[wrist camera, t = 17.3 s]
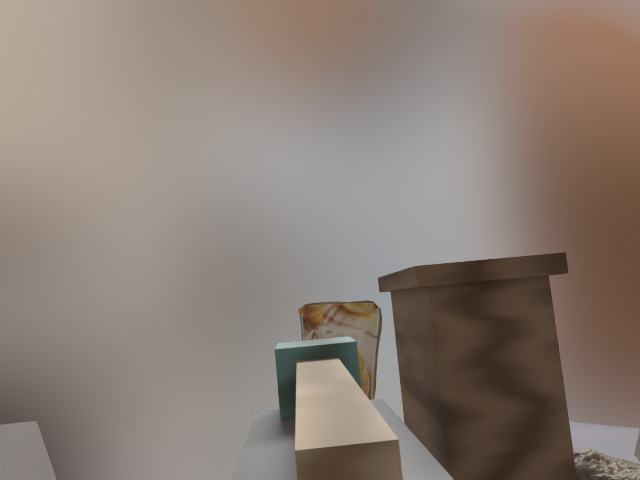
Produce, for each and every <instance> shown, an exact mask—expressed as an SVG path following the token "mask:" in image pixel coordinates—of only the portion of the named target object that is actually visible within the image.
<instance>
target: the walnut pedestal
mask: <svg viewBox="0 0 640 480" xmlns="http://www.w3.org/2000/svg"><path fill="white" fill-rule="evenodd" d="M565 273H568V266H567V260H566V253H554V254H544V255H534V256H521V257H510V258H500V259H488V260H477V261H466V262H456V263H444V264H433V265H423V266H414V267H411V268H408V269H404V270H402V271H398V272H395V273H392V274H389V275H386V276H383V277H379V278H378V283H379V292H388V291H391V299H392V309H393V318H394V327H395V336H396V346H397V355H398V365H399V373H400V384H401V392H402V402H403V412H404V420H405V425H406V426H407V427H408V428H409V430H410V431H411V432H412V433H413V434H414V435H415V436H416V437H417V439H418V440H419V441H420V442H421V443H422V444H423V445H424V446H425V448H426V449H427V450H428V451H429V452H430V453H431V454H432V456H433V457H434V458H435V459H436V460H437V461H438V462H439V463H440V465H441V466H442V467H443V468H444V469H445V470H446V471H447V472H448V474H449V475H450V476H451V477H452V478H453V479H454V480H577V475H576V468H575V461H574V454H573V447H572V439H571V432H570V425H569V418H568V411H567V404H566V397H565V389H564V383H563V375H562V368H561V361H560V355H559V346H558V340H557V333H556V325H555V319H554V311H553V304H552V297H551V289H550V282H549V275H557V274H565Z"/></svg>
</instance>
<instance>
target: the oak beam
mask: <svg viewBox="0 0 640 480" xmlns="http://www.w3.org/2000/svg"><path fill="white" fill-rule="evenodd" d="M275 356H276V369H277V381H278V394H279V406H280V418H281V420H285V419H295V418H296V423H295V457H296V469H297V480H403V475H402V466H401V456H400V447H399V439H398V438H397V436H396V435H395V434H394V432H393V431H392V430H391V428H390V427H389V426H388V424H387V423H386V422H385V420H384V419H383V418H382V416H381V415H380V413H379V412H378V411H377V409H376V408H375V407H374V405H373V404H372V403H371V401H370V400H369V399H368V397H367V396H366V395H365V393H364V392H363V391H362V389H361V379H360V369H359V358H358V348H357V341H356V340H354V339H352V338H351V337H349V336H348V337H337V338H327V339H317V340H306V341H296V342H286V343H278V344H277V346H276V348H275Z"/></svg>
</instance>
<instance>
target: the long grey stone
mask: <svg viewBox="0 0 640 480" xmlns="http://www.w3.org/2000/svg"><path fill="white" fill-rule="evenodd" d="M573 454H574V461H575V468H576V475H577V480H640V464H637V463H632V462H629V461H626V460H622V459H617V458H613V457H610V456H607V455H604V454H600V453H597V451H595V450H591V449H589V448H588V449H581V450H574V449H573Z"/></svg>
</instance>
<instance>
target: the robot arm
mask: <svg viewBox="0 0 640 480" xmlns="http://www.w3.org/2000/svg"><path fill="white" fill-rule="evenodd" d="M634 454H635V456H636V457H637V458H638V459H639V461H640V431H639V436H638V440H637V445H636V449H635V453H634ZM0 480H56V477H55V474H54V471H53V469H52V465H51V463H50V460H49V457H48V454H47V451H46V448H45V445H44V442H43V439H42V436H41V433H40V430H39V427H38V425H37V422H36V421H33V422H23V423H14V424H5V425H0Z"/></svg>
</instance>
